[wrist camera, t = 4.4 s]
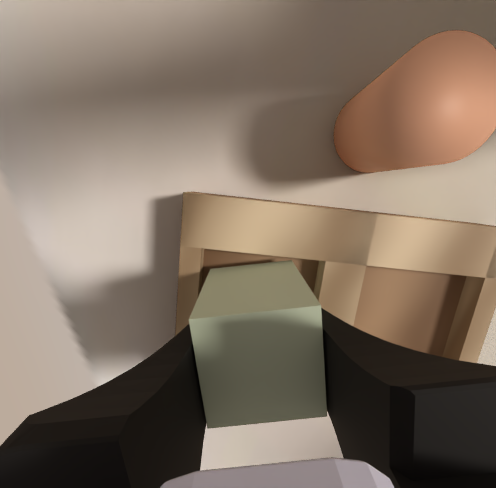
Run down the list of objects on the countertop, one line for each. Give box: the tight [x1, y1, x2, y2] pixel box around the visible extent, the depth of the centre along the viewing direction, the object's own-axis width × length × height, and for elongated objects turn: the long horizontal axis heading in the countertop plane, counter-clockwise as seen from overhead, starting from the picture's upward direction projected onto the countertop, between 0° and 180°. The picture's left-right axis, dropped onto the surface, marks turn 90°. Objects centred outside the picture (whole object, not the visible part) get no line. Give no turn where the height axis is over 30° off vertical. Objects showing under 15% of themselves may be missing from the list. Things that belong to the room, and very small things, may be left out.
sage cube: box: [189, 260, 327, 428], centre depth 11 cm, size 4×4×5 cm
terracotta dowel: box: [334, 30, 496, 173], centre depth 11 cm, size 4×4×5 cm
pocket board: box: [175, 192, 496, 363], centre depth 14 cm, size 16×11×2 cm
